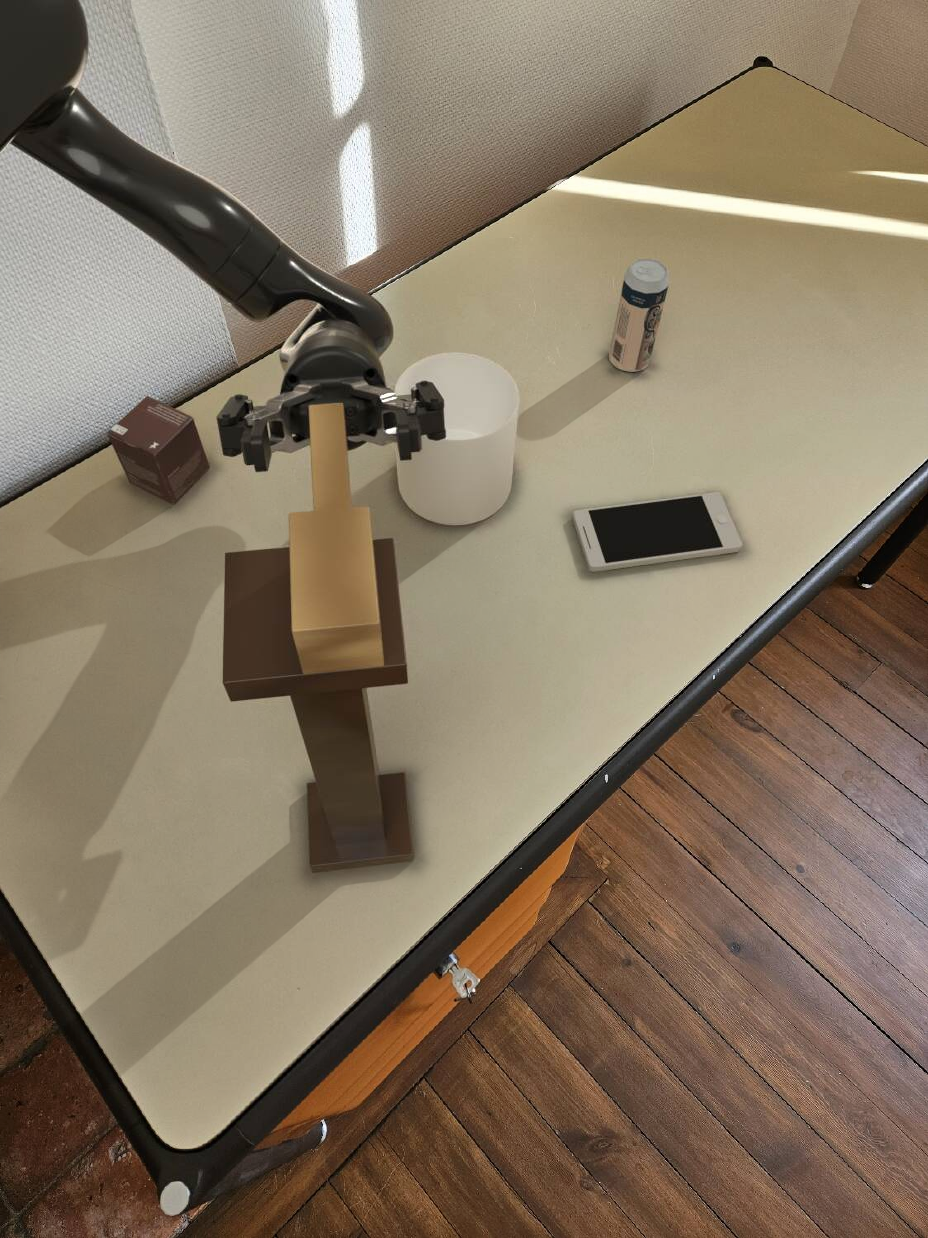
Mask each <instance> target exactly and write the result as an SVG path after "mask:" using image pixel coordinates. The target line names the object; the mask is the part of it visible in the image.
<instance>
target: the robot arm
mask: <svg viewBox="0 0 928 1238" xmlns="http://www.w3.org/2000/svg"><path fill="white" fill-rule="evenodd" d="M89 36H90V35H89V27H88V24H87V19H86V15H85V11H84V9H83V6H82V3H81V2H80V0H0V154H1V153H2V152H3V151H4V150H5V149H6V148H7V146H8V145H9V144H10V145H11V146H13V147H14V148H16V149H18V150H19V151H21V152H23V153H24V154H26V155H27V156H28V157H30V158H32V159H33V160H35V161H37V162H38V163H40V164H42V165H43V166H45V167H46V168H48V169H49V170H51V171H52V172H54V173H55V174H57V175H58V176H59V177H61V178H63V179H64V180H65V181H67V182H69V184H72V185H73V186H74V187H76V188H77V189H79V190H81V191H83V192H84V193H85V194H87V195H88V196H90V197H92V198H93V199H94V200H96V201H97V202H98V203H100V204H102V205H103V206H105V207H106V208H108V209H109V210H110V211H112V212H113V213H115V214H116V215H117V216H119V217H121V218H122V219H124V220H125V221H126V222H127V223H129V224H131V225H132V226H133V227H134V228H136V229H137V230H138V231H140V232H142V234H144V235H145V236H146V237H148V238H149V239H151V241H153V242H155V243H156V244H157V245H158V246H160V247H161V248H162V249H163V250H165V251H166V252H167V253H168V254H170V255H171V256H172V257H174V259H176V260H177V261H178V262H179V263H180V264H181V265H183V266H185V267H186V268H187V269H188V270H189V271H190V272H191V273H193V274H194V276H196V277H197V278H198V279H199V280H200V281H202V282H203V283H204V284H205V285H206V286H208V287H209V288H210V289H211V290H212V291H213V292H215V293H216V294H217V295H218V296H219V297H220V298H222V300H224V301H225V302H226V303H227V304H229V305H230V306H231V307H232V308H233V309H234V310H235V311H237V313H239V314H241V315H242V316H243V317H245V318H246V319H247V320H249V321H251V322H253V323H262V322H265V321H268V320H269V319H271V318H273V317H274V316H275V315H277V314H279V313H280V312H281V311H283V310H284V309H285V308H287V307H289V306H290V305H292V304H294V303H296V302H300V301H301V302H302V301H306V302H307V301H308V302H312V303H316V305H315V307H314V308H313V309H312V310H311V311H310V312H309V313H308V314H307V316H306V317H305V318H304V319H303V320H302V321H301V322H300V324H299V325H298V326H297V327H296V328H295V329H294V330H293V332H292V333H290V335H289V337H288V338H287V339H286V340H285V341H284V343H283V345H282V347H281V348H280V351H279V355H278V357H279V362H280V365H281V368H282V369H283V372H284V375H283V378H282V381H281V385H280V389H279V394H278V395H276V396H274V397H271V398H269V399H268V400H267V401H266V404H265V405H254V401H253V400H252V399H249V396H248V395H247V394H242V393H238V394H234V395H233V396H230V397H229V398H228V400H226V402H225V404H224V405H223V407H222V408H221V409H220V411H219V412H218V414H217V416H216V417H215V418H216V424H217V429H218V435H219V440H220V446H221V451H222V456H224V457H229V458H234V457H237V456H239V455H241V454H242V458H243V463H244V465H246V466H253V467H254V471H255V473H265V472H266V473H267V472H269V468H270V465H271V460H272V456H273V454H274V453H276V452H279V453H285V454H292V453H295V452H297V451H300V450H302V449H304V448H306V447H308V446H309V447H310V426H309V405H319V404H332V403H343V405H344V413H345V422H346V435H347V448H348V452H349V451H353V450H356V449H358V448H360V447H362V446H363V445H365V444H367V443H370V444H374V445H377V446H381V447H384V446H387V445H391V444H393V443H397V446H398V451H399V457H400V461H404V460H412V455H411V452H420V451H421V450H422V444H421V436H423V435H426V436H427V438H428V439H430V440H434V441H439V440H441V439H445V438H446V429H445V422H444V399H443V397H442V396H441V394H440V393H439V391H438V390H437V388H436V387H435V385H434V384H433V383H432V382H428V381H421V382H419V383H416V384H415V385H416V387H413V388H411V394H409V395H398V396H396V395H395V393H394V391H393V390H394V389H391V388H390V387H388V386H387V383H386V377H385V372H384V367H383V364H382V362H381V359H380V357H381V356H383V354H384V353H385V352H386V351H387V350H388V349H389V347H390V345H391V344H392V342H393V340H394V335H395V334H394V333H395V332H394V324H393V321H392V318H391V316H390V314H389V312H388V310H387V309H386V307H385V306H384V305H383V304H382V303H381V302H380V301H379V300H378V299H377V298H375V297H374V296H373V295H371V294H369V293H367V292H366V291H364V290H363V289H360V288H359V287H358V286H355V285H353V284H351V283H349V282H347V281H345V280H343V279H341V278H338V277H337V276H335V275H333V274H331V273H329V272H327V271H325V270H324V269H322V268H321V267H319V266H318V265H316V264H314V263H312V262H311V261H310V260H308V259H307V258H305V256H302V255H301V254H300V253H298V252H297V251H296V250H294V249H293V248H292V247H291V246H290V245H289V244H287V242H286V241H284V240H283V239H282V238H281V237H280V235H278V234H277V233H275V231H273V230H272V229H271V228H270V227H269V226H268V225H267V224H266V223H265V222H264V221H263V220H262V219H261V218H260V217H259V216H257V214H255V212H253V211H252V210H251V209H250V208H249V207H248V206H247V205H245V204H244V202H243V201H241V200H240V199H238V198H237V197H236V196H234V195H233V194H232V193H230V191H227V190H226V189H225V188H223V187H222V186H220V185H219V184H217V183H215V182H213V181H212V180H211V179H208V178H207V177H205V176H203V175H201V174H198V173H197V172H195V171H193V170H191V169H189V168H187V167H185V166H183V165H181V164H179V163H177V162H174V161H173V160H171V159H169V158H166V157H165V156H163V155H161V154H159V153H157V152H156V151H153V150H152V149H150V148H148V147H146V146H144V145H143V144H141V142H138V141H137V140H135V139H134V138H132V137H131V136H129V135H128V134H127V133H125V132H124V131H123V130H121V129H120V128H119V127H118V126H116V125H115V124H114V123H112V122H111V120H109V119H108V118H107V117H105V116H104V114H102V113H101V112H100V111H99V110H98V109H97V107H96V106H94V105H93V103H91V101H90V100H89V99H88V98H87V97H86V96H85V94H83V93H82V91H81V90H80V89H79V88H78V86H79V84H80V82H81V80H82V78H83V77H84V74H85V70H86V66H87V62H88V57H89V49H90V48H89V47H90V37H89ZM268 426H269V427H268ZM269 434H270V435H269ZM293 435H294V436H293Z"/></svg>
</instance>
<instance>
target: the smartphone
mask: <svg viewBox="0 0 928 1238" xmlns="http://www.w3.org/2000/svg"><path fill="white" fill-rule="evenodd" d="M572 522H573V524H574V525H573V526H574V527H575V530H576V534H577V537H578V540H579V544H580V547H581V550H582V554H583V556H584V559H585V562H586V566H587V568H588V571H589V572H596V573H597V572H604V571H610V570H618V569H624V568H632V567H639V566H646V565H647V566H648V565H653V564H661V563H667V562H674V561H682V560H689V559H697V558H703V557H711V556H717V555H725V554H731V553H738V552H740V551H741V550H742V548H743V541H742V539H741V537H740V535H739V532H738V530H737V528H736V525H735V523H734V521H733V519H732V517H731V513H730V512H729V510H728V507H727V505H726V502H725V500H724V498H723V495H722V493H720V492H717V491H715V492H714V491H713V492H705V493H697V494H690V495H682V496H675V497H667V498H659V499H653V500H645V501H638V502H629V503H621V504H614V505H607V506H606V505H605V506H598V507H590V508H584V509H583V508H582V509H577V510H574V511H573V512H572Z"/></svg>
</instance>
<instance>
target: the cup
mask: <svg viewBox="0 0 928 1238" xmlns="http://www.w3.org/2000/svg"><path fill="white" fill-rule="evenodd" d="M421 381H428V382H432V383H433V384H434V385H435V387H436V388H437V390H438V391H439V393H440V394H441V396H442V397H443V399H444V422H445V429H446V438H445V439H441V440H439V441H434V440H430V439H428V438H427V436H426V435H423V436H421V444H422V450H421V451H420V452H411V455H412V460H404V461H400V457H399V451H398V446H397V443H395V442H394V443H395V445H394V446H395V457H396V458H395V459H396V475H397V484H398V485H397V486H398V491H399V494H400V496H401V499H402V500H403V502H404V503H405V504H406V506H407V507H408V508H409V509H410V510H411V511H413V513H415V514H416V515H417V516H419V517H421V518H423V519H424V520H427V521H430V522H432V523H436V524H439V525H444V526H445V525H446V526H465V525H471V524H475V523H478V522H481V521H484V520H486V519H488V518H489V517H491V516H493V515H494V514H496V513H497V512H498V511H499V510H500V509H501V508H502V507H503V506H504V504H505V503H506V502H507V500H508V499H509V496H510V493H511V491H512V484H513V473H514V462H515V452H516V440H517V431H518V430H517V429H518V420H519V418H518V417H519V411H520V409H519V408H520V392H519V387H518V385H517V383H516V381H515V380H514V378H513V377H512V375H510V373H509V372H508V371H507V370H506V369H505V368H503V367H502V366H501V365H499V364H498V363H497V362H495V361H492V360H491V359H489V358H487V357H484V356H481V355H477V354H474V353H468V352H444V353H436V354H432V355H430V356H426V357H424V358H422V359H420V360H418V361H416V362H414V363H412V364H411V365H410V366H409V367H407V368H406V369H405V370H403V372H402V373H401V374H400V376H399V377H398V378H397V380H396V383H395V384H394V385H393V389H392V390H393V391H394V393H395V395H396V396H398V395H409V394H411V388H413V387H416V385H415V384H416V383H419V382H421Z"/></svg>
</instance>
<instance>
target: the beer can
mask: <svg viewBox="0 0 928 1238" xmlns="http://www.w3.org/2000/svg"><path fill="white" fill-rule="evenodd" d="M670 278H671V277H670V274H669V271H668V267H667V266H666V265H665V264H663V262H661V261H660V260H657V259H653V258H650V257H648V258H637V259H636V260H635V261H634V262H632V263H630V265H629V266H628V267H627V268H626V270H625V271H624V274H623V281H622V286H621V287H622V288H621V291H620V297H619V302H618V307H617V313H616V318H615V322H614V328H613V333H612V338H611V343H610V349H609V352H608V359H609V362H610V363H611V364H612V366H614V367H615V368H616V369H618V370H621V371H624V372H627V373H629V372H630V373H632V372H633V373H636V372H639V371H643V370H645V369H646V368H647V367H648V366H649V365H650V363H651V358H652V355H653V350H654V347H655V342H656V338H657V334H658V330H659V326H660V322H661V318H662V313H663V311H664V310H663V309H664V307H665V306H664V305H665V301H666V298H667V294H668V290H669V285H670V282H671V280H670Z"/></svg>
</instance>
